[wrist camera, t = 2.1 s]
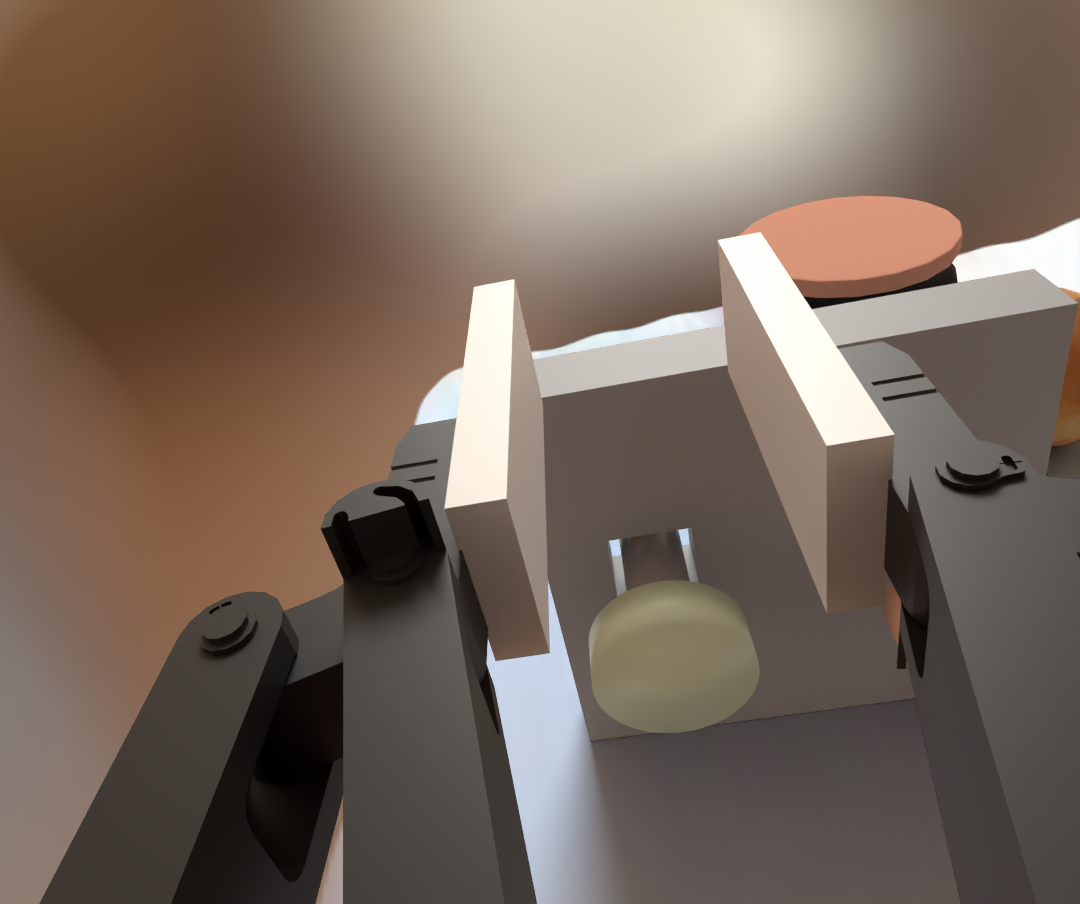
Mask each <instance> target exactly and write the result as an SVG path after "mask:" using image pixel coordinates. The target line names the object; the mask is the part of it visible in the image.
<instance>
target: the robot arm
mask: <svg viewBox="0 0 1080 904" xmlns="http://www.w3.org/2000/svg"><path fill="white" fill-rule="evenodd" d="M718 249H719V262H720V274H721V287H722V300H723V313H724V325H725V338H726V351H727V364H728V372H729V375H730V377H731V380H732V382H733V385H734V387H735V389H736V392H737V394H738V397H739V399H740V402H741V404H742V407H743V409H744V412H745V414H746V416H747V419H748V421H749V424H750V426H751V429H752V431H753V434H754V436H755V438H756V441H757V443H758V446H759V448H760V451H761V453H762V456H763V458H764V461H765V463H766V465H767V468H768V470H769V473H770V475H771V478H772V480H773V483H774V485H775V487H776V490H777V492H778V495H779V497H780V500H781V502H782V505H783V507H784V510H785V512H786V514H787V517H788V519H789V522H790V524H791V527H792V529H793V532H794V534H795V536H796V539H797V541H798V544H799V546H800V549H801V551H802V554H803V556H804V559H805V561H806V563H807V566H808V568H809V571H810V573H811V576H812V578H813V581H814V583H815V585H816V588H817V590H818V593H819V595H820V598H821V600H822V603H823V605H824V608H825V610H826V612H827V613H831V612H838V611H845V610H852V609H859V608H866V607H873V606H879V605H885V603H886V585H887V574H888V576H889V578H890V580H891V582H892V584H893V586H894V588H895V590H896V592H897V594H898V596H899V598H900V599H901V611H900V625H899V639H898V654H897V669H906V663H907V665H908V670H909V674H910V679H911V683H912V687H913V692H914V696H915V701H916V705H917V710H918V714H919V719H920V723H921V728H922V732H923V737H924V741H925V745H926V750H927V754H928V759H929V763H930V768H931V772H932V777H933V781H934V786H935V790H936V795H937V799H938V803H939V808H940V812H941V817H942V821H943V826H944V830H945V835H946V839H947V844H948V848H949V853H950V857H951V861H952V866H953V870H954V875H955V879H956V884H957V888H958V893H959V897H960V902H961V904H1080V479H1074V478H1059V477H1049V476H1042V475H1038V474H1037V472H1036V470H1035V468H1034V467H1033V466H1032V465H1031V464H1030V463H1029V461H1028V460H1027V459H1026V458H1025V457H1024V456H1023V455H1021V454H1019V453H1017V452H1015V451H1013V450H1011V449H1010V448H1008V447H1006V446H1002V445H998V444H995V443H991V442H987V441H983V440H977V439H976V437H975V436H974V435H973V434H972V433H971V431H970V430H969V429H968V428H967V426H966V425H965V424H964V423H963V421H962V420H961V419H960V418H959V416H958V415H957V414H956V413H955V411H954V410H953V409H952V408H951V406H950V405H949V404H948V403H947V401H946V400H945V399H944V398H943V397H942V395H941V394H940V393H939V392H938V393H937V392H936V388H935V387H934V385H933V384H932V383H931V382H930V380H929V379H928V378H927V377H924V373H923V372H922V370H921V369H920V368H919V367H918V365H917V364H916V363H915V362H914V360H913V359H912V358H911V357H910V356H909V355H908V354H906V353H904V352H902V351H900V350H898V349H896V348H894V347H893V346H891V345H889V344H887V343H885V342H883V341H880V342H874V343H868V344H863V345H857V346H851V347H846V348H840V349H838V348H837V347H836V345H835V344H834V342H833V341H832V339H831V338H830V336H829V335H828V333H827V332H826V330H825V329H824V327H823V326H822V324H821V323H820V321H819V320H818V318H817V317H816V315H815V314H814V312H813V311H812V309H811V308H810V306H809V305H808V303H807V302H806V300H805V299H804V297H803V296H802V294H801V293H800V291H799V289H798V288H797V286H796V285H795V283H794V282H793V280H792V279H791V277H790V276H789V274H788V273H787V271H786V270H785V268H784V267H783V265H782V264H781V262H780V261H779V259H778V258H777V256H776V255H775V253H774V252H773V250H772V249H771V247H770V246H769V244H768V243H767V241H766V240H765V238H764V237H763V235H762V234H761V232H758V233H753V234H748V235H743V236H738V237H733V238H728V239H722V240H718ZM391 468H392V471H390V474H389V478H388V480H386V481H380V482H374V483H371V484H369V485H366V486H364V487H361V488H359V489H356V490H354V491H352V492H351V493H349V494H348V495H346V496H345V497H343V498H342V499H340V500H339V501H337V502H336V503H335V504H334V506H333V507H332V508H331V509H330V510H329V512H328V513H327V514H326V515H325V518H324V520H323V523H322V527H321V530H322V533H323V535H324V537H325V539H326V541H327V544H328V546H329V548H330V550H331V552H332V554H333V557H334V559H335V561H336V564H337V566H338V568H339V570H340V572H341V575H342V577H343V579H344V584H343V585H341V586H340V587H338V588H337V589H336V590H334V591H332V592H329V593H327V594H325V595H323V596H321V597H319V598H316V599H314V600H311V601H309V602H306V603H304V604H301V605H299V606H296V607H294V608H291V609H288V610H286V611H284V610H283V608H282V606H281V605H280V603H279V601H278V599H277V598H275V597H273V596H271V595H269V594H267V593H265V592H245V593H240V594H237V595H233V596H229V597H226V598H224V599H222V600H220V601H218V602H216V603H214V604H212V605H211V606H209V607H207V608H206V609H205V610H203V611H202V612H201V613H200V614H199V615H197V616H196V617H195V618H194V619H193V620H191V621H190V623H189V624H188V625H187V626H186V628H185V629H184V630H183V632H182V633H181V635H180V636H179V637H178V639H177V641H176V643H175V645H174V647H173V649H172V651H171V653H170V655H169V656H168V658H167V660H166V662H165V664H164V666H163V668H162V670H161V672H160V674H159V676H158V678H157V679H156V682H155V683H154V685H153V687H152V689H151V691H150V693H149V695H148V697H147V699H146V701H145V702H144V704H143V706H142V708H141V710H140V712H139V714H138V716H137V718H136V720H135V722H134V724H133V725H132V727H131V729H130V731H129V733H128V735H127V737H126V739H125V741H124V743H123V745H122V747H121V748H120V750H119V752H118V754H117V757H116V758H115V760H114V762H113V764H112V766H111V768H110V770H109V772H108V774H107V775H106V777H105V779H104V781H103V783H102V785H101V787H100V789H99V791H98V793H97V794H96V796H95V798H94V800H93V802H92V804H91V806H90V808H89V810H88V812H87V814H86V816H85V817H84V820H83V821H82V823H81V825H80V827H79V829H78V831H77V833H76V835H75V837H74V838H73V840H72V842H71V844H70V846H69V848H68V850H67V852H66V854H65V856H64V858H63V860H62V861H61V863H60V865H59V867H58V869H57V871H56V873H55V875H54V877H53V879H52V881H51V883H50V884H49V887H48V888H47V890H46V892H45V894H44V896H43V898H42V900H41V902H40V904H315V903H316V899H317V895H318V891H319V887H320V883H321V880H322V876H323V872H324V868H325V864H326V860H327V856H328V852H329V848H330V844H331V840H332V836H333V832H334V829H335V825H336V821H337V816H338V813H339V808H340V805H341V801H342V797H343V904H537V901H536V896H535V891H534V886H533V881H532V876H531V871H530V866H529V861H528V856H527V850H526V845H525V840H524V835H523V830H522V825H521V820H520V815H519V810H518V805H517V800H516V795H515V790H514V785H513V779H512V774H511V769H510V764H509V759H508V754H507V749H506V744H505V739H504V734H503V729H502V724H501V719H500V714H499V708H498V703H497V698H496V693H495V688H494V685H493V682H492V679H491V676H490V673H489V670H488V667H487V664H486V660H487V641H488V640H489V642H490V645H491V648H492V651H493V654H494V657H495V660H496V661H499V660H506V659H513V658H520V657H526V656H533V655H540V654H547V653H550V644H549V607H548V571H547V534H546V498H545V461H544V425H543V402H542V398H541V393H540V389H539V385H538V380H537V376H536V372H535V367H534V363H533V358H532V354H531V350H530V346H529V342H528V337H527V332H526V328H525V324H524V319H523V315H522V310H521V306H520V302H519V298H518V293H517V289H516V284H515V280H514V279H513V280H509V281H503V282H498V283H493V284H487V285H482V286H478V287H474V293H473V300H472V307H471V315H470V323H469V330H468V337H467V345H466V352H465V360H464V367H463V374H462V382H461V389H460V397H459V404H458V411H457V418H455V419H450V420H444V421H438V422H432V423H427V424H421V425H415V426H412V427H411V429H410V430H409V431H408V432H407V434H406V435H405V436H404V437H403V438H402V440H401V441H400V442H399V443H398V444H397V446H396V448H395V453H394V457H393V461H392V465H391Z"/></svg>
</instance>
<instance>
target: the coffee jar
mask: <svg viewBox="0 0 1080 904" xmlns="http://www.w3.org/2000/svg"><path fill="white" fill-rule="evenodd" d="M758 232H761V234H762V235H763V237H764V238H765V240H766V241H767V243H768V244H769V246H770V247H771V249H772V250H773V252H774V253H775V255H776V256H777V258H778V259H779V261H780V262H781V264H782V265H783V267H784V268H785V270H786V271H787V273H788V274H789V276H790V277H791V279H792V280H793V282H794V283H795V285H796V286H797V288H798V289H799V291H800V293H801V294H802V296H803V297H804V299H805V300H806V302H807V303H808V305H809V306H810V308H811V309H816V308H822V307H827V306H833V305H838V304H844V303H849V302H855V301H860V300H866V299H871V298H877V297H882V296H888V295H894V294H899V293H905V292H910V291H916V290H921V289H927V288H932V287H938V286H943V285H949V284H954V283H958V282H957V274H956V268H955V266H954V265H953V264H952V262H953V261H954V259H955V258H956V256H957V255H958V254H959V252H960V250H961V244H962V240H963V235H962V228H961V222H960V221H959V220H958V219H957V218H955V217H954V216H953V215H952V214H951V213H950V212H949V211H947V210H945V209H943V208H940V207H937V206H934V205H932V204H929V203H927V202H923V201H917V200H911V199H905V198H899V197H884V196H857V197H843V198H831V199H826V200H821V201H815V202H810V203H804V204H801V205H797V206H794V207H791V208H787V209H784V210H781V211H778V212H775V213H773V214H771V215H769V216H767V217H765V218H763V219H761V220H759V221H757V222H755V223H753V224H752V225H751V226H750V227H749V228H747V229H746V230H745V231H744V232H743V233H742V234H741V235H740V236H743V235H748V234H753V233H758Z"/></svg>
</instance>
